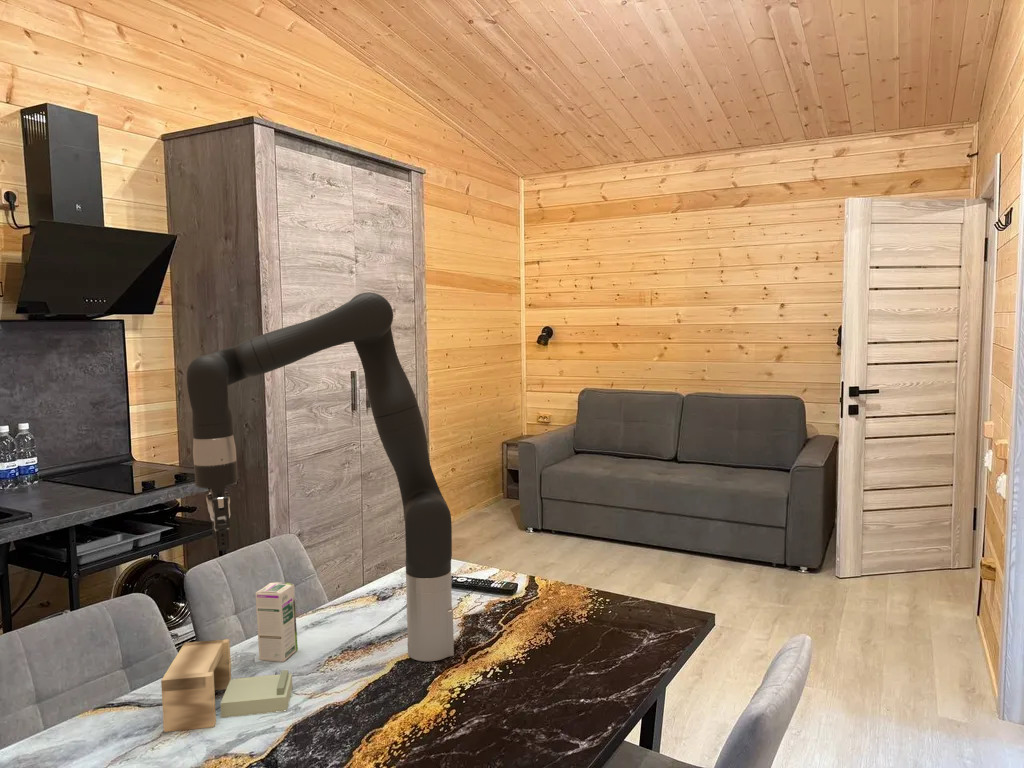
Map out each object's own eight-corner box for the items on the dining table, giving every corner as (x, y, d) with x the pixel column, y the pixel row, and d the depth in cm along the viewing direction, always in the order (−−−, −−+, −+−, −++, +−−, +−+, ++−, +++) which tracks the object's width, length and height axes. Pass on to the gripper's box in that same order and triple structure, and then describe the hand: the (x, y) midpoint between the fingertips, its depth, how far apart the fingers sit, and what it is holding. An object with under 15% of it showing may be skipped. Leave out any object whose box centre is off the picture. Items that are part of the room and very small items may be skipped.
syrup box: (284, 662, 150) (281, 592, 149) (257, 660, 151) (254, 590, 150) (298, 650, 156) (295, 582, 155) (272, 648, 157) (269, 581, 156)
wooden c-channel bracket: (231, 684, 141) (229, 639, 140) (214, 726, 126) (211, 675, 126) (187, 689, 140) (184, 642, 139) (164, 731, 125) (161, 680, 124)
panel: (292, 688, 140) (291, 667, 140) (286, 713, 131) (285, 690, 131) (231, 694, 138) (230, 672, 138) (221, 719, 130) (220, 696, 129)
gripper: (240, 463, 136) (246, 550, 137) (232, 452, 149) (238, 531, 150) (195, 468, 133) (202, 557, 134) (191, 456, 145) (197, 537, 147)
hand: (221, 543), depth 142 cm, fingers open, 8 cm apart
